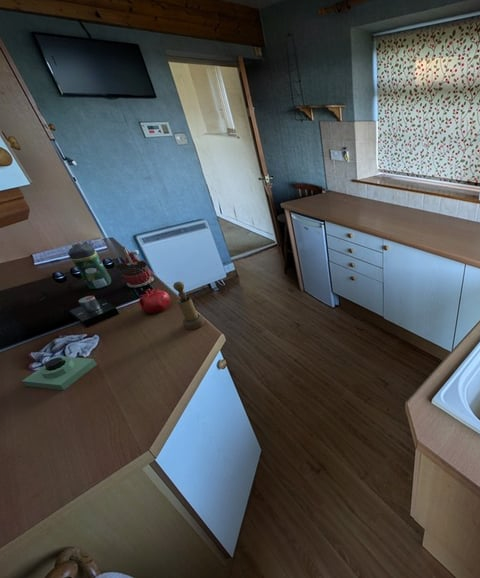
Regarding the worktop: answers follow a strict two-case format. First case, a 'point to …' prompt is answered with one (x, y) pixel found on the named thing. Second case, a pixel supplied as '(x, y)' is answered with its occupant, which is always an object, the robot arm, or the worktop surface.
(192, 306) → the mortar and pestle
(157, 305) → the pomegranate
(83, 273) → the coffee jar
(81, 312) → the panel
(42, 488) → the worktop surface
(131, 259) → the cake
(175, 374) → the worktop surface
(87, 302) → the knob
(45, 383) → the button box
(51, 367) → the button
